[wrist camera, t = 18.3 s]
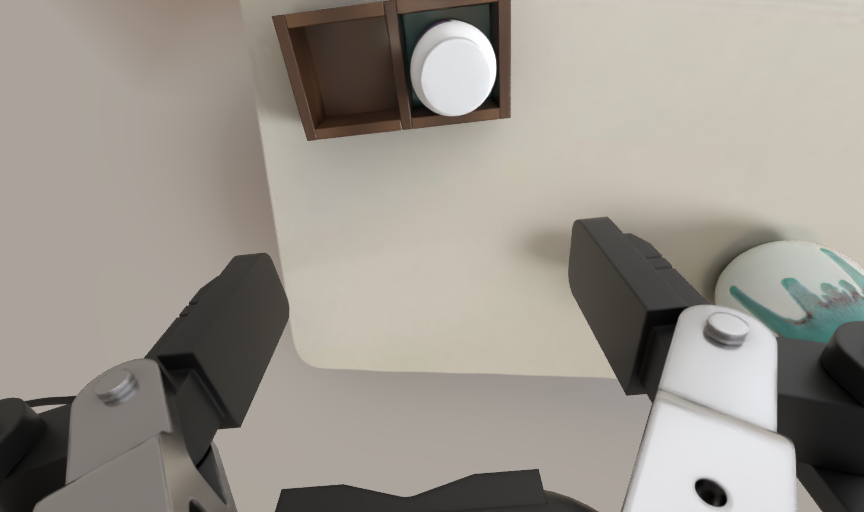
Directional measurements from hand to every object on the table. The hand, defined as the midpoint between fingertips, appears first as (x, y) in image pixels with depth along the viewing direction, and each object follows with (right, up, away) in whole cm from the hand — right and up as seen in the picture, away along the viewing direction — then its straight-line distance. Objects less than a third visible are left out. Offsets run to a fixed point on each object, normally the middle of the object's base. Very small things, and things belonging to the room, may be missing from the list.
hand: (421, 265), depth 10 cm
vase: (+35, -1, +32) cm, 48 cm away
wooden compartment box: (-2, +16, +20) cm, 26 cm away
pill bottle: (+2, +15, +19) cm, 25 cm away
